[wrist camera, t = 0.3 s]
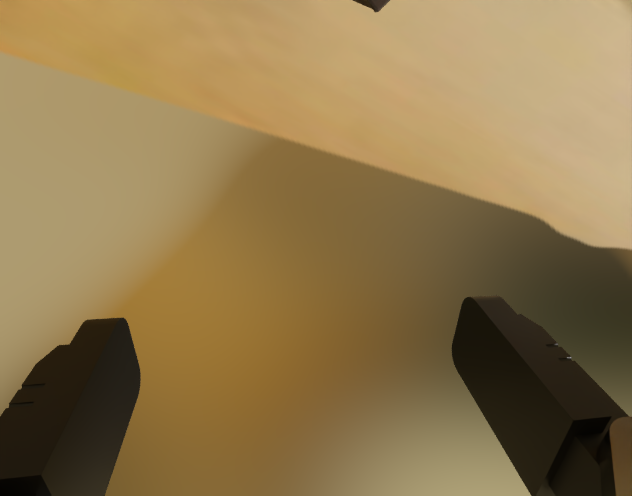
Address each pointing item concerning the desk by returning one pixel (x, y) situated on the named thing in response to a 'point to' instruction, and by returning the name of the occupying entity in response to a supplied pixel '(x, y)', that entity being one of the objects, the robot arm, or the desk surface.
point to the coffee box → (373, 4)
